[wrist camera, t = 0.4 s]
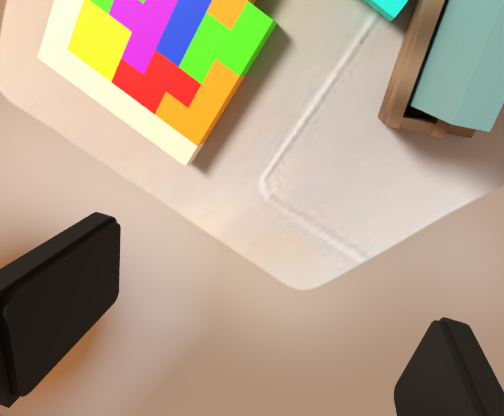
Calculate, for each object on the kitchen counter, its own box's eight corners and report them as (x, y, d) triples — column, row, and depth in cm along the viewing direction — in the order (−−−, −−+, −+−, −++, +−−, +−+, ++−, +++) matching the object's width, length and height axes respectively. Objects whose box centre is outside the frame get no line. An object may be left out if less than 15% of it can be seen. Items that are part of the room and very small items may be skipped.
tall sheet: (451, -46, 28) (578, -174, 13) (476, -43, 27) (633, -169, 13) (399, 100, 33) (451, 124, 18) (420, 105, 32) (489, 132, 18)
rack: (440, -74, 28) (468, -112, 22) (555, -59, 27) (617, -95, 21) (377, 117, 35) (386, 126, 29) (467, 136, 33) (496, 149, 28)
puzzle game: (57, 58, 41) (252, 202, 42) (37, 57, 38) (246, 211, 39) (161, -266, 28) (439, -43, 29) (143, -303, 25) (449, -54, 26)
